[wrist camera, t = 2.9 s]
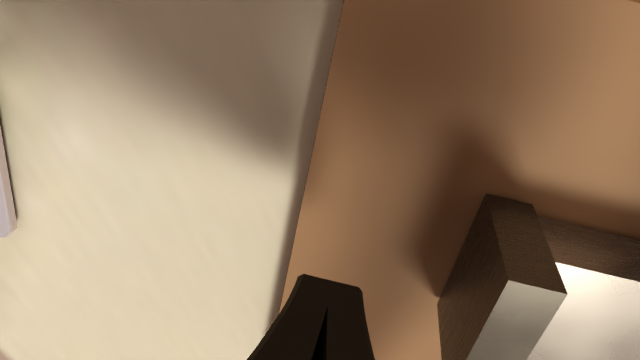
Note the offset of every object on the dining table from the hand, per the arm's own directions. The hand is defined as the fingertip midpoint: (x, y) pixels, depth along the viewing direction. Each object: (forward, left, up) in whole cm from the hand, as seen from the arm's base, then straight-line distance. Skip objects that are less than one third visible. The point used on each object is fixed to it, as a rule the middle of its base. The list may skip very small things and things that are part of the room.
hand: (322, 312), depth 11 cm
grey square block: (+6, -1, -3) cm, 7 cm away
